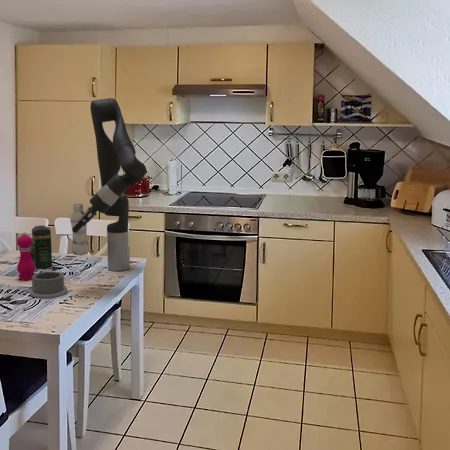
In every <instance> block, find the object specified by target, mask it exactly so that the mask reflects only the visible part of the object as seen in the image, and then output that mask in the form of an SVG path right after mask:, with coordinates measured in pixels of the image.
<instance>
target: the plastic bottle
mask: <svg viewBox="0 0 450 450" xmlns="http://www.w3.org/2000/svg"><path fill="white" fill-rule="evenodd" d="M72 210H73V211H72V213H71V215H70V219H69V221H70V226H71V232H72V244H71V245H72V246H71V252H72V254H73V255H74V256H85V255H87V254H89V252H90V246H89V242H88V237H87V235H88V233H87V227H88V226H87V225H88V223H86V224H85V226H82V228H81V229H80V230H79V231H78V232H77V233H75V232H74V231H73V230H72V228H73V227H74V226H75V225H76V224H77V223H78V222H79V220H81V219H82V215H83V214H84V213H85V212H84V204H83V203H74V204H73V205H72ZM82 221H83V222H84V223H85V222H86V221H85V220H84V219H83V220H82Z"/></svg>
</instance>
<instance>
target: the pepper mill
mask: <svg viewBox="0 0 450 450" xmlns="http://www.w3.org/2000/svg"><path fill="white" fill-rule="evenodd" d="M16 244H17V245H18V251H19V261H18V263H17V266H16V271H17V272H18V273H19V274H18V280H20V281H32V276H33V275H35V274H36V273H34V271H36V268H35V264H34V262H33V259H32V258H31V250H32V249H31V245H32V236H29V235H28V234H27V232H26V231H22V233H21V235H20V236H18V238H17V240H16Z"/></svg>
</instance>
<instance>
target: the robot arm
mask: <svg viewBox="0 0 450 450" xmlns="http://www.w3.org/2000/svg"><path fill="white" fill-rule="evenodd" d="M89 108H90V116H91V121H92V124H93V125H92V126H93V130H94V135H95V144H96V153H97V154H96V155H97V162H98V163H97V164H98V169H99V170H98V171H99V177H100V183H101V185H100V187H101V188H100V189H99V190H97V191H96V193H95V194H94V195H93V196H92V197H91V198H90V199H89V203H90V206H89V207H88V208H87V209H86V210H85V212H84V214H83V215H82V219H81V220H79V222H78V223H77V224H76V225H75V226H74V227H73V228H72V227H71V231H72V230H73V231H74V232H75V233H77V232H78V231H79V230H80V229H81V228H82V226H85V224H86V223H87V224H88V223H90V222H91V220H92V219H94V218H96V216H97V213H98V212H99V213H101V214H104V215H105V216H109V217H118V219H117V221H115V222H111V223H109V224H107V226H106V242H107V269H108V270H109V271H112V272H121V271H127V270H129V268H130V267H131V265H130V264H131V258H130V246H129V213H130V212H129V209H130V208H129V207H130V204H129V198H128V196H126V195H123V194H124V193H125V192H126V191H127V190H128V189H129V188H131V187H132V186H133V187H134V185H136V184H137V183H139V182H141V180H142V179H143V178H144V177H145V176H146V174H147V166H146V165H145V164H144V162H142V161H140V160H139V159H138V158H137V157H136V153H137V152H136V151H137V150H136V148H135V145H134V144H133V142H132V140H131V138H130V136H129V133H128V131H127V128H126V124H125V120H124V116H123V113H122V110H121V107H120V104H119V103H118V101H117V100H116V99H115V98H113V97H107V98H100V99H94V100H91V102H90V107H89ZM113 121H114V122H115V127H114V128H115V129H114V133H113V136H112V140H111V138H110V137H109V136H108V134H107V133H106V132H105V129H104V126H103V125H104V124H103V123H106V122H107V123H109V122H113ZM121 169H122V171H123V172H124V173H123V174H122V175H120V174H119V172H120V170H121ZM83 219H84V220H85V221H86V222H85V223H84V222H83V221H82V220H83Z"/></svg>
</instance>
